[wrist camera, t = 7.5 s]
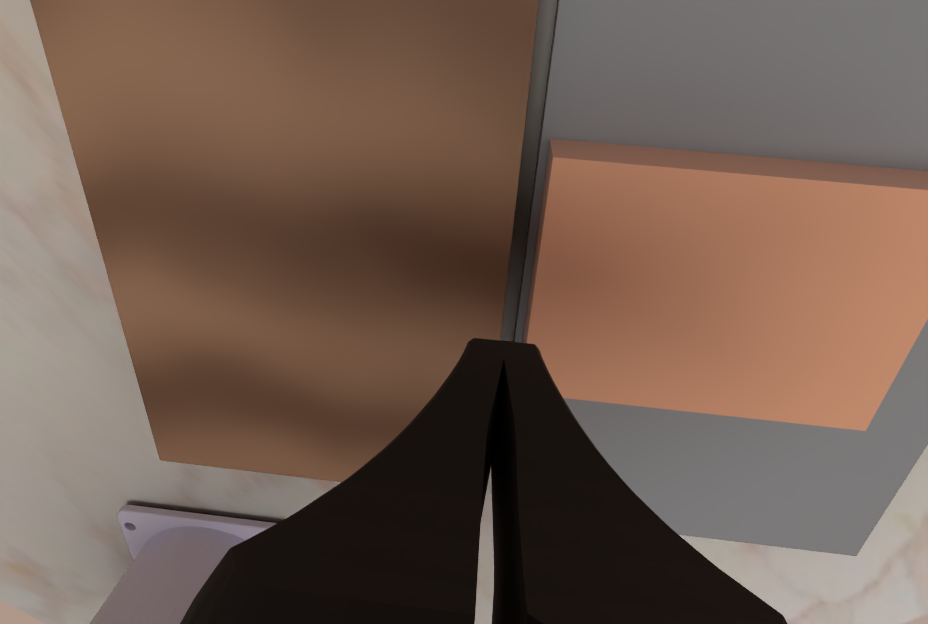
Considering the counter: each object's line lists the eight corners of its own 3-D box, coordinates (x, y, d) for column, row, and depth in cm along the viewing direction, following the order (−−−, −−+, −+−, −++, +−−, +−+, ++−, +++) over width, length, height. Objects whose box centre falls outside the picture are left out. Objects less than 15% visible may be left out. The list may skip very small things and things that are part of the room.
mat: (845, 538, 22) (856, 556, 21) (493, 496, 23) (492, 511, 22) (1291, -193, 11) (1342, -205, 10) (586, -230, 12) (590, -244, 11)
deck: (485, 458, 22) (482, 498, 20) (188, 424, 22) (159, 460, 21) (550, -114, 13) (554, -131, 11) (52, -147, 13) (-17, -167, 12)
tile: (832, 388, 18) (865, 431, 16) (520, 355, 18) (519, 392, 17) (938, 172, 14) (996, 196, 13) (549, 138, 15) (553, 157, 13)
